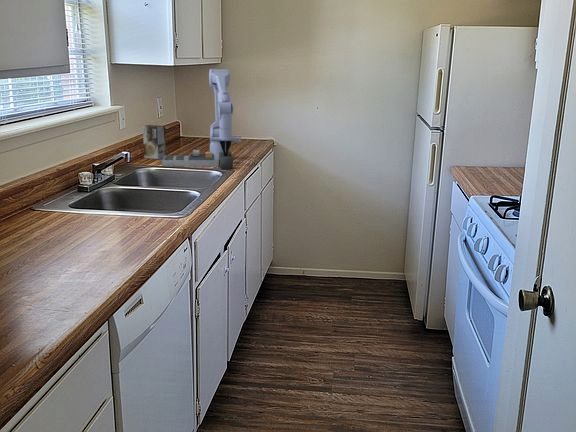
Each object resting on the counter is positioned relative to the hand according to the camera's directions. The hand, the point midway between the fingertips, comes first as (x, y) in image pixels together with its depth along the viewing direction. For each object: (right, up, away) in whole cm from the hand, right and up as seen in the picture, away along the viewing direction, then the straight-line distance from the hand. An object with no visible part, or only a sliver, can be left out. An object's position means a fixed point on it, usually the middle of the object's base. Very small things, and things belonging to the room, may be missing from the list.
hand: (225, 157), depth 275 cm
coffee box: (-37, +1, +17) cm, 41 cm away
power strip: (-17, -3, +2) cm, 17 cm away
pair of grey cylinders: (0, -4, +1) cm, 4 cm away
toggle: (-8, -1, -1) cm, 8 cm away
